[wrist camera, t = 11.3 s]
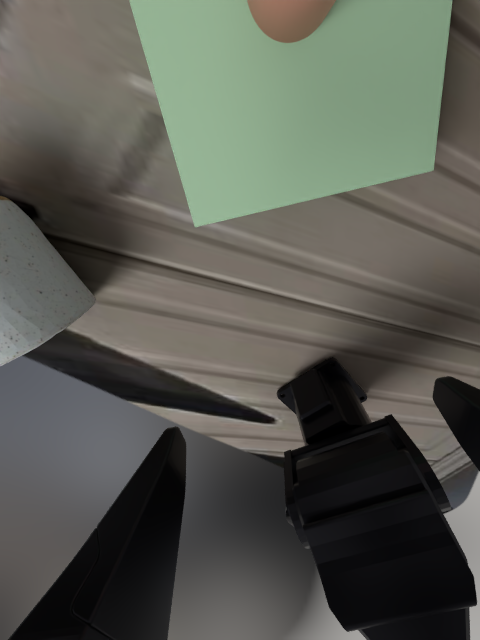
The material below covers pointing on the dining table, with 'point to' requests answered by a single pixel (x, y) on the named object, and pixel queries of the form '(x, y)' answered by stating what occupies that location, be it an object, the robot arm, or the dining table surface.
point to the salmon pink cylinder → (289, 17)
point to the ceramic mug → (33, 286)
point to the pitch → (294, 99)
